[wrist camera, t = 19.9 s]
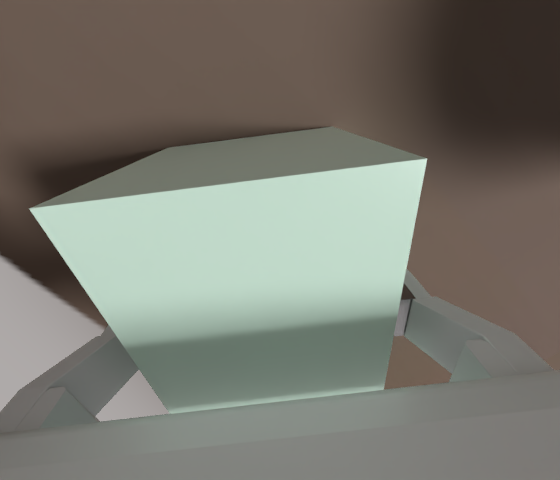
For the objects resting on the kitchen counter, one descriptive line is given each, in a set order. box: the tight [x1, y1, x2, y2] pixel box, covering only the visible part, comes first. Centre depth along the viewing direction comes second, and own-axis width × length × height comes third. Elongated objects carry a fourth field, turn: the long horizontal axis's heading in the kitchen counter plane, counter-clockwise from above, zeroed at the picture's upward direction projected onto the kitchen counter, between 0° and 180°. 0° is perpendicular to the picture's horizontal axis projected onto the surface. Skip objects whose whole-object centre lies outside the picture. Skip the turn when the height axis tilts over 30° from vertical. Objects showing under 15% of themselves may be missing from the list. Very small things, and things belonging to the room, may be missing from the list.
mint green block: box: [29, 127, 427, 414], centre depth 10 cm, size 11×7×7 cm
